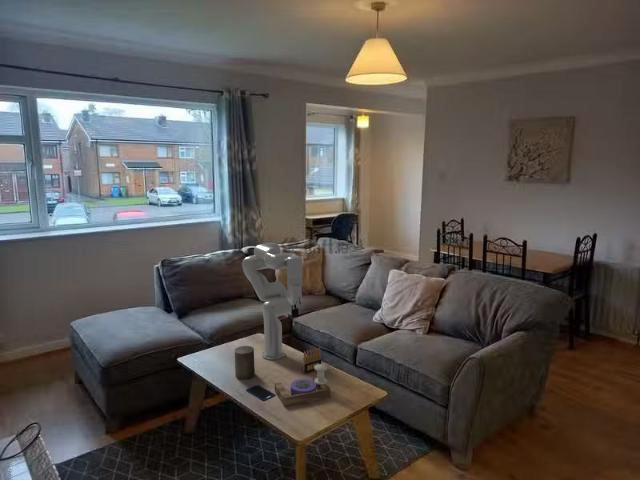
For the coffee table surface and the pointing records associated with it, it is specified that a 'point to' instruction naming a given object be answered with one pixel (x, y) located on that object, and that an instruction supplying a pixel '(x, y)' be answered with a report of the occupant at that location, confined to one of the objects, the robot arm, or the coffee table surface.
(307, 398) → the u-shaped wooden bracket
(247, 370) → the pillar candle
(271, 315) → the robot arm
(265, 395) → the cell phone
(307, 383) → the tape roll
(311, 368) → the ammunition clip
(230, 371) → the coffee table surface
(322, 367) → the doorknob
